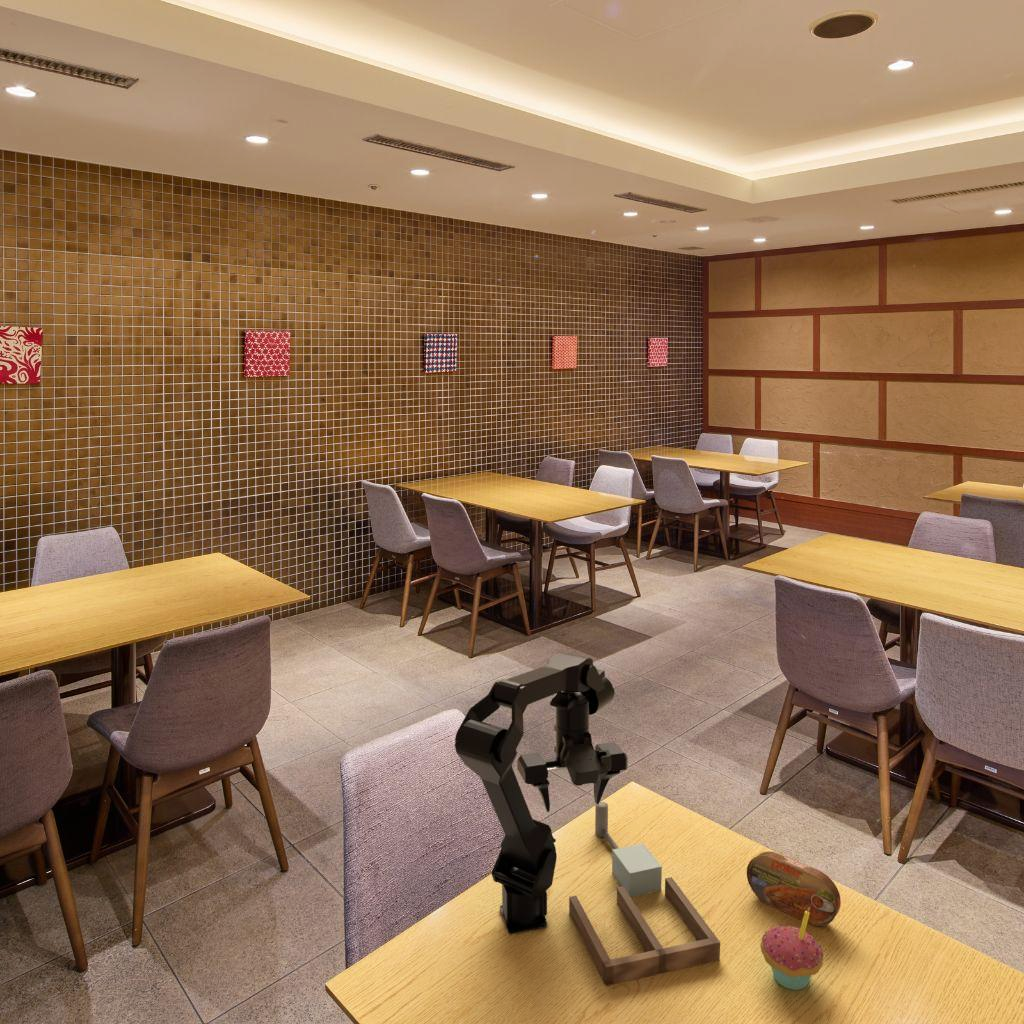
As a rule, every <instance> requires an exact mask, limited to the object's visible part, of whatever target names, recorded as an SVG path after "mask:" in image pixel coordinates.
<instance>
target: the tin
mask: <svg viewBox="0 0 1024 1024" xmlns="http://www.w3.org/2000/svg"><path fill="white" fill-rule="evenodd" d="M746 878H747V882H748V884H749V887H750V888H751V891H752V892H753V894H754V895H755V896H756V897H757V898H758V899H759V900H760V901H761V902H762V903H764V904H766V905H767V906H770V907H771V908H774V909H777V910H779V911H780V912H784V913H785V914H788V915H790V916H792V917H794V918H797V919H798V920H801V921H803V917H804V913H805V911H808V908H809V907H810V909H809V913H810V914H809V918H808V922H807V924H808V925H813V926H816V927H823V926H828V925H830V923H832V922H833V921H834V920H835V918H836V916H837V915H838V913H839V912H840V909H841V903H842V901H841V894H840V891H839V889H838V887H837V885H836V884H835V882H834V881H833V880H832V879H831V878H830V876H829V875H827V874H826V873H824V872H823V871H822V870H819V869H817V868H814V867H812V866H809V865H807V864H805V863H803V862H799V861H797V860H796V859H793V858H790V857H787V856H785V855H783V854H780V853H778V852H775V851H768V850H767V851H763V852H761V853H758V855H756V856H755V857H753V858H752V859H751V860H750V861H749V863H748V864H747V867H746Z"/></svg>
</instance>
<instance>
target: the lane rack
mask: <svg viewBox="0 0 1024 1024" xmlns="http://www.w3.org/2000/svg"><path fill="white" fill-rule="evenodd" d="M664 895H665V896H666V898H667V900H668V901H669V902H670V904H671V905H672V906H673V908H674V910H675V911H676V913H677V914H678V915H679V916H680V919H682V922H684V923H685V925H686V926H687V928H688V929H689V931H690V932H691V933H692V935H693V937H694V938H695V940H696V941H695V940H694V941H690V942H686V943H681V944H676V945H672V946H671V945H670V946H667V947H664V946H662V944H661V943H660V941H659V939H658V938H657V936H656V934H654V932H653V930H652V929H651V927H650V925H649V924H648V922H647V921H646V919H645V918H644V916H643V915H642V913H641V911H640V910H639V908H638V906H637V905H636V903H635V902H634V901H633V899H632V897H630V896H629V894H628V892H627V891H626V889H625V888H624V886H623V887H622V886H618V887H616V905H617V907H618V908H619V910H620V912H621V913H622V915H623V916H624V918H625V920H626V922H627V923H628V925H629V927H630V928H631V930H632V932H633V933H634V935H635V936H636V938H637V940H638V941H639V943H640V944H641V947H642V948H643V950H644V951H645V952H640V953H636V954H631V955H627V956H626V955H625V956H621V957H616V958H612V959H611V958H610V956H609V954H608V952H607V951H606V948H605V947H604V945H603V943H602V941H601V939H600V937H599V935H598V933H597V932H596V930H595V928H594V926H593V925H592V922H591V921H590V919H589V916H588V915H587V913H586V911H585V909H584V908H583V906H582V904H581V902H580V900H579V898H578V896H577V895H571V896H569V897H568V901H569V903H568V904H569V905H568V907H569V909H568V910H569V911H568V914H569V916H570V917H571V920H572V921H573V923H574V926H575V927H576V929H577V932H578V934H579V935H580V938H581V940H582V941H583V943H584V945H585V947H586V950H587V951H588V953H589V955H590V957H591V959H592V962H593V963H594V965H595V967H596V969H597V971H598V973H599V976H600V977H601V980H602V981H603V983H604V985H605V986H610V985H614V984H619V983H624V982H627V981H628V982H629V981H633V980H637V979H641V978H645V977H651V976H655V975H659V974H663V973H667V972H672V971H676V970H680V969H681V970H682V969H686V968H689V967H695V966H698V965H703V964H708V963H712V962H716V961H720V960H721V959H720V958H721V941H720V940H719V938H718V937H717V936H716V934H715V932H713V930H712V929H711V928H710V927H709V925H708V923H706V921H705V920H704V918H703V917H702V915H700V913H699V912H698V911H697V909H696V908H695V906H694V904H693V903H691V900H689V898H688V897H687V896H686V894H685V893H684V892H683V891H682V889H681V888H680V886H679V885H678V884H677V882H676V881H675V880H674V877H672V876H671V877H665V878H664Z"/></svg>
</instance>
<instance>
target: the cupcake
mask: <svg viewBox="0 0 1024 1024" xmlns="http://www.w3.org/2000/svg"><path fill="white" fill-rule="evenodd" d="M809 909H810V907H809V908H808V911H805V913H804V917H803V921H802V920H801V921H802V922H801V926H800V927H797V926H793V925H782V924H780V925H777V926H772V927H770V928H769V929H768V930H767V931H765V932H764V934H763V935H762V937H761V940H760V950H761V951H760V952H761V954H762V956H763V958H764V961H765V963H766V964H768V966H770V967H771V971H772V975H773V978H774V979H775V981H776V982H777V983H778V984H779V985H780V986H782V987H783V988H786V989H789V990H793V991H800V990H802V989H805V988H806V987H807V985H808V984H809V982H810V979H811V977H812V976H813V975H816V974H818V973H819V972H820V971H821V968H822V967H823V964H824V963H823V962H824V951H823V946H821V944H820V943H819V941H817V940H816V938H815V937H814V936H813V935H811V934H810V933H809V932H807V931H806V929H807V925H808V923H807V922H808V918H809V914H810V913H809Z"/></svg>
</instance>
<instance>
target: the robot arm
mask: <svg viewBox="0 0 1024 1024" xmlns="http://www.w3.org/2000/svg"><path fill="white" fill-rule="evenodd" d="M615 693H616V691H615V688H614V686H613V684H612V682H611V680H610V679H608V677H606V674H605V670H603V669H602V670H601V669H598V668H597V667H596V666H595V665H594V660H593V658H591V657H587V656H583V655H579V654H574V653H569V652H566V651H565V652H564V651H558V652H556V653H555V654H553V655H551V656H550V657H549V658H548V659H547V663H546V664H545V665H544V666H541V667H539V668H535V669H532V670H530V671H527V672H524V673H522V674H521V673H520V674H518V675H515V676H512V677H508V678H507V679H505V678H503V679H498V680H496V681H495V682H494V683H493V685H492V686H491V689H490V690H489V691H488V694H487V695H486V696H484V697H483V698H482V699H480V700H479V701H478V702H476V703H475V704H474V705H472V706H471V707H470V708H469V709H468V711H467V713H466V715H465V717H464V718H463V720H462V722H461V724H460V726H459V728H458V730H457V731H456V733H455V738H454V742H455V743H454V748H455V752H456V755H457V756H458V757H459V758H460V760H461V761H462V762H463V764H464V765H465V766H466V767H467V768H469V769H470V770H471V771H472V772H473V773H474V774H476V775H477V776H478V777H479V778H480V779H481V782H482V784H483V786H484V789H485V790H486V793H487V796H488V798H489V800H490V802H491V805H492V807H493V810H494V812H495V815H496V816H497V819H498V822H499V823H500V825H501V826H500V827H501V829H502V830H503V833H504V837H503V839H502V840H501V842H500V845H499V846H500V848H501V850H499V854H498V855H497V859H496V861H495V863H494V865H493V868H492V870H491V876H492V880H493V882H495V883H498V884H501V895H502V897H501V901H502V902H501V903H502V904H501V905H499V911H500V913H501V916H502V919H503V922H504V924H505V927H506V929H507V932H508V933H509V934H510V935H511V934H517V933H518V934H519V933H522V932H527V931H532V930H537V929H541V928H546V927H548V921H547V918H546V917H545V916H547V915H548V892H547V891H548V890H549V889H550V888H551V887H552V885H553V881H554V875H555V869H556V865H557V864H556V863H557V859H558V858H557V850H556V849H557V848H556V845H555V843H556V841H557V840H556V838H555V837H554V836H553V832H552V831H553V830H552V828H551V826H550V825H549V824H547V823H544V822H541V821H539V820H536V819H534V818H533V817H532V814H531V811H530V809H529V806H528V804H527V801H526V799H525V797H524V794H523V791H522V788H521V786H520V784H519V781H518V779H517V776H516V774H515V771H514V768H513V764H514V761H515V759H516V757H517V755H518V752H517V749H518V746H519V745H520V742H521V740H522V739H523V737H524V731H525V730H524V713H525V712H526V709H527V707H528V706H529V705H531V704H534V703H536V702H539V701H541V700H543V699H547V698H549V697H551V696H554V697H553V698H551V699H550V702H549V705H550V707H554V708H555V724H554V726H553V727H554V728H553V731H555V745H554V747H553V748H554V750H553V751H554V753H555V757H553V758H552V757H551V758H545V759H544V758H543V756H542V755H541V753H540V752H532V753H531V752H530V753H525V754H520V755H519V756H518V758H517V762H516V764H517V765H516V767H517V768H516V769H517V771H518V773H519V775H520V776H521V778H522V780H523V782H524V783H525V784H526V785H531V786H532V787H536V788H537V789H538V792H539V795H540V798H541V800H542V804H543V805H544V808H545V810H546V812H547V813H550V809H551V803H550V791H549V786H550V781H549V780H548V778H549V772H551V771H558V770H564V769H567V772H568V774H569V778H570V780H571V783H572V784H573V785H574V786H578V787H579V786H583V785H587V784H593V795H594V796H593V797H594V804H595V805H596V804H599V802H601V799H602V797H603V794H604V793H605V790H606V788H607V785H608V783H609V781H610V780H611V778H613V777H614V776H616V775H620V774H621V772H622V771H625V770H627V769H628V763H629V760H628V755H627V754H626V753H625V751H624V750H623V749H622V748H621V747H620V746H619V745H618V744H617V743H616V742H615V741H611V742H604V743H597V744H596V745H595V748H594V746H593V739H592V734H591V733H590V715H594V714H596V713H597V712H599V711H600V710H602V709H603V708H605V707H606V706H607V705H608V704H609V703H611V702H612V701H613V700H614V698H615ZM501 707H504V708H507V709H511V723H510V725H509V726H508V728H504V727H501V726H498V725H497V726H496V725H494V724H491V723H487V722H484V721H485V720H486V719H488V717H490V716H492V714H493V713H496V711H497V710H499V709H500V708H501Z"/></svg>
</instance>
